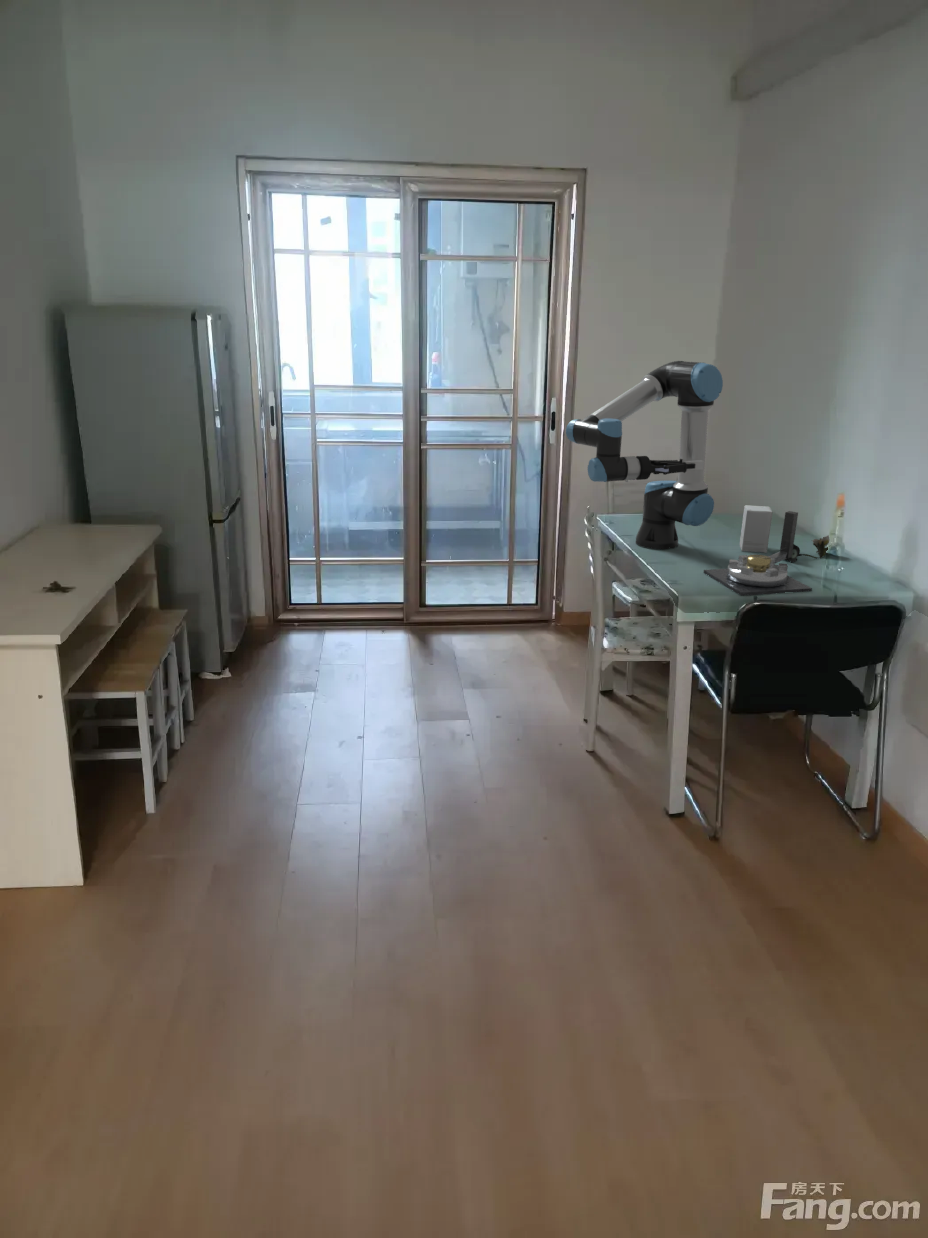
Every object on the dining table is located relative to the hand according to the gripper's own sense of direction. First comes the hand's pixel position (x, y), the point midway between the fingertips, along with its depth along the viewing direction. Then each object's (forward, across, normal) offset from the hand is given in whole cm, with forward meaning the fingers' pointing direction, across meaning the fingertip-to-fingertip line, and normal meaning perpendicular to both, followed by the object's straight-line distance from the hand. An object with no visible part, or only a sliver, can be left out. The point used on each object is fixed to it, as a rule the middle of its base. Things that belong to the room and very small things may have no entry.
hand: (701, 464), depth 290 cm
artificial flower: (+44, +3, -34) cm, 56 cm away
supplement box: (+30, -11, -34) cm, 47 cm away
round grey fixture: (+14, +21, -32) cm, 41 cm away
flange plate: (+9, +24, -33) cm, 42 cm away
